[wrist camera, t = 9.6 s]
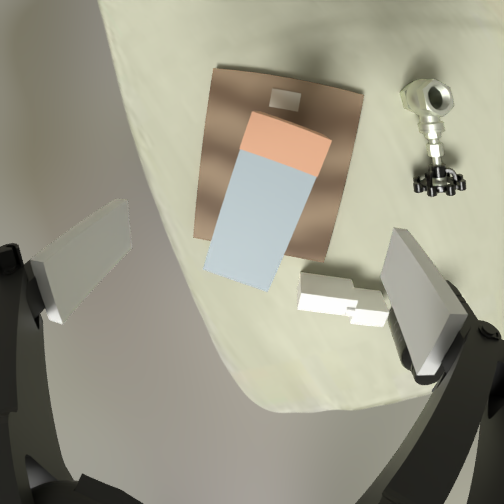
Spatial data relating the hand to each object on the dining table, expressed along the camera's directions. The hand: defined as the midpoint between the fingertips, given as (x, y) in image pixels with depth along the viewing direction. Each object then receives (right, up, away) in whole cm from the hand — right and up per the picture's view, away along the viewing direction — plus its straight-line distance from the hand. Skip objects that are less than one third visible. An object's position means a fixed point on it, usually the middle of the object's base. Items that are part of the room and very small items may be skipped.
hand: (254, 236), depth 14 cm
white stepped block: (+12, -6, +26) cm, 29 cm away
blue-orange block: (+1, +5, +10) cm, 11 cm away
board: (+2, +9, +19) cm, 21 cm away
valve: (+19, +13, +15) cm, 28 cm away
